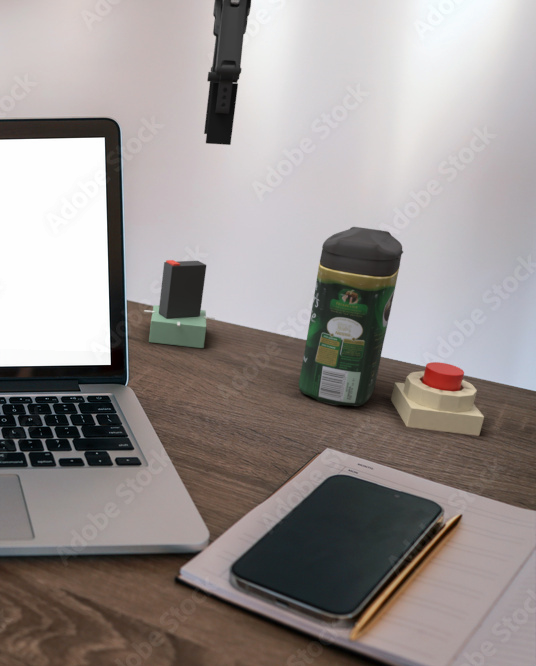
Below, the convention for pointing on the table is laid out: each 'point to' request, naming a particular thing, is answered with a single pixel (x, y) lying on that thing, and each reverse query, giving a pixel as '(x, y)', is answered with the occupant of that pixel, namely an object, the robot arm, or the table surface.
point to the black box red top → (182, 289)
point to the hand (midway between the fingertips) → (216, 139)
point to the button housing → (437, 406)
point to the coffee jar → (350, 315)
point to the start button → (443, 376)
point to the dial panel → (178, 329)
